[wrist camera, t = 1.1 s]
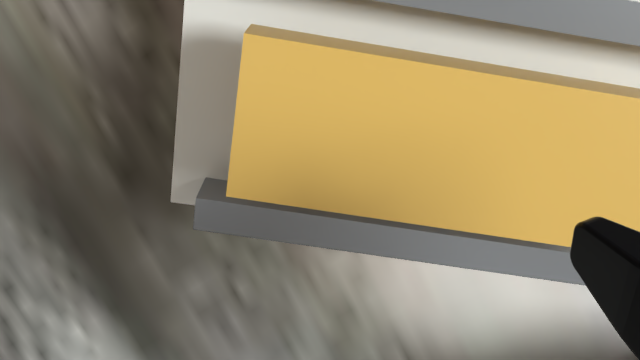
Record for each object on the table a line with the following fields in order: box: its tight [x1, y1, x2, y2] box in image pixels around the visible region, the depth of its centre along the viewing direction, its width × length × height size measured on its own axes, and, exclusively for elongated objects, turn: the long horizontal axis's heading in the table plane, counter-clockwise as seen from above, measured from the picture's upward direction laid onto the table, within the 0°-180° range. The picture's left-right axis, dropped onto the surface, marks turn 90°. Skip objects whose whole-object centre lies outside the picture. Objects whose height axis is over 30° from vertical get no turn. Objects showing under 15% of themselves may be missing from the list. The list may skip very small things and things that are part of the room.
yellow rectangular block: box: [226, 24, 640, 247], centre depth 14 cm, size 12×4×2 cm, turn 81°
